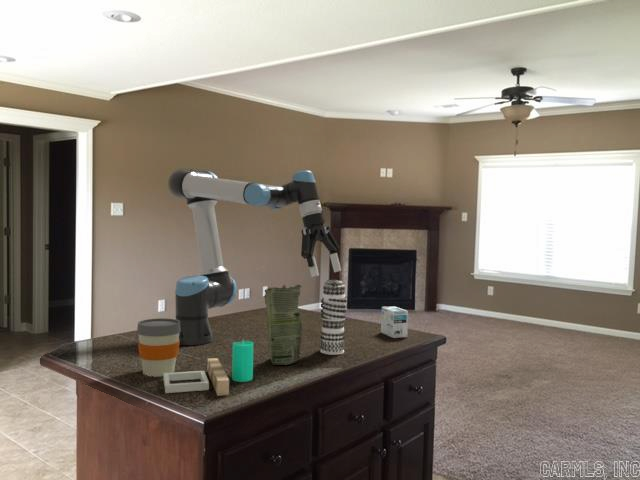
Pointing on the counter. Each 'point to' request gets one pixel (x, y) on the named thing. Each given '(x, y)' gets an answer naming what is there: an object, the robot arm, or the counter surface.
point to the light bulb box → (394, 322)
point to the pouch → (283, 324)
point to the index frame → (185, 386)
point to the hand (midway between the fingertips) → (326, 273)
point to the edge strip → (218, 377)
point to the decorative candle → (333, 317)
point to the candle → (242, 361)
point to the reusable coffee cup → (158, 345)
